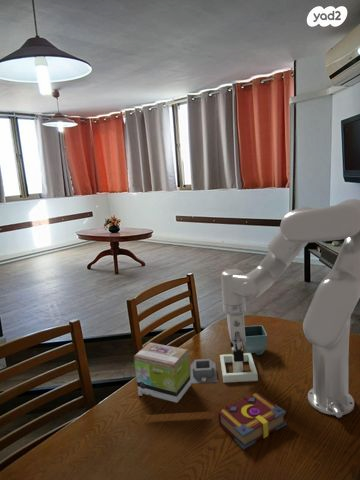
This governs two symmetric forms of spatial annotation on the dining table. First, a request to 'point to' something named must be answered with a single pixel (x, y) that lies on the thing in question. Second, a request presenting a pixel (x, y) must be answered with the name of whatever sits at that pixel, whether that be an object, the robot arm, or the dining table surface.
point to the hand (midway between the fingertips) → (237, 353)
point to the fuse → (237, 364)
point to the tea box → (162, 371)
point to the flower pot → (255, 339)
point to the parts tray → (242, 375)
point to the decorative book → (251, 419)
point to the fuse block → (203, 371)
